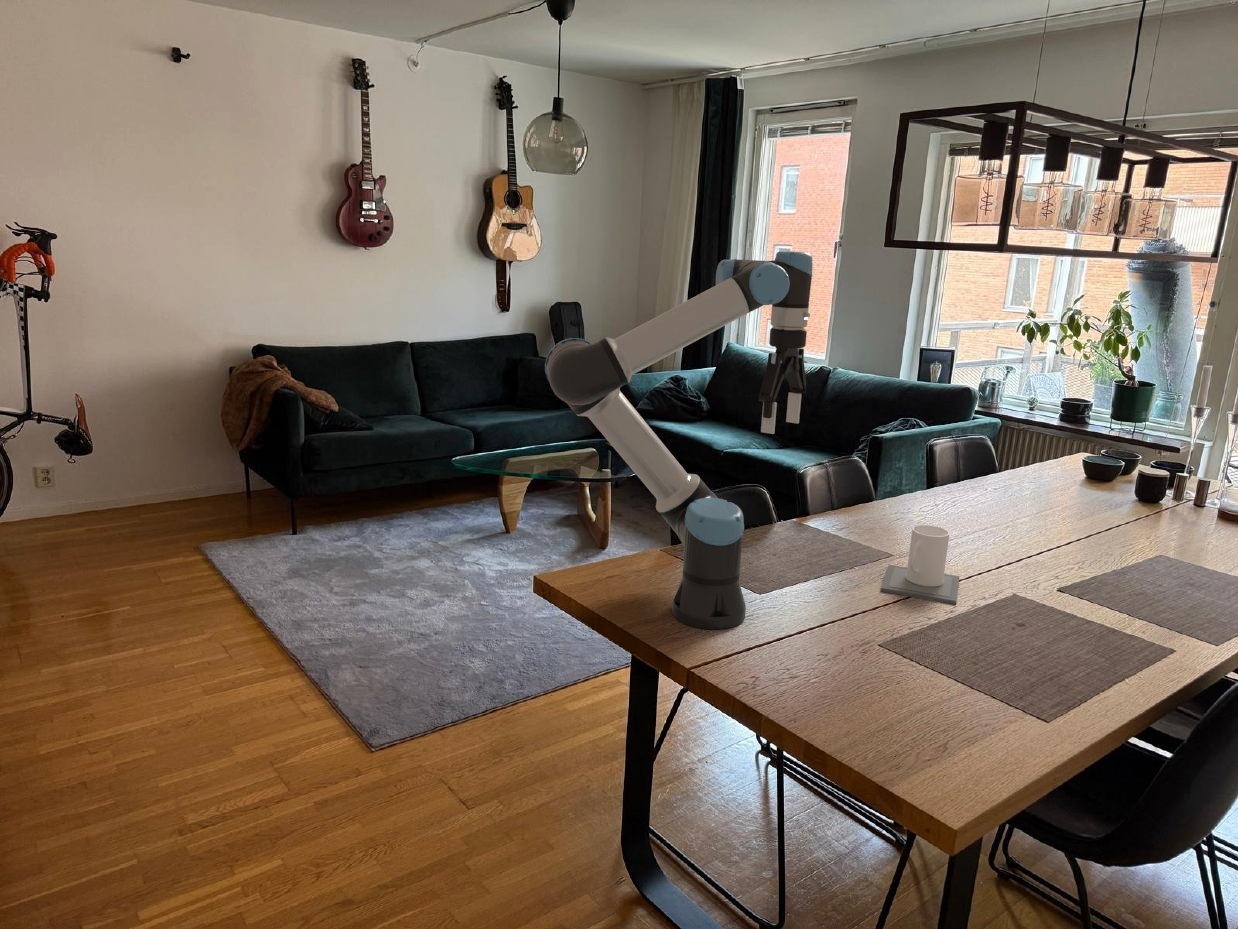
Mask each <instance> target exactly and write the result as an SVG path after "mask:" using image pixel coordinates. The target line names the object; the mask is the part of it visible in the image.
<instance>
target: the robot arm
mask: <svg viewBox="0 0 1238 929" xmlns="http://www.w3.org/2000/svg"><path fill="white" fill-rule="evenodd" d="M716 268H717V269H716V272H715V285H714V286H712V287H711V288H709V289H707V290H706V289H705V291H703V292H700V293H699V294H697V295H696V296H694V297H691V298H690V299H687V300H685V301H683V302H682V303H680V304H678V305H677V306H674V307H673V308H671V309H669V310H667V311H665V312H663V313H661V314H659V315H658V316H655V317H654V318H652V319H650V320H648V321H646V322H644V323H642V324H641V325H638V326H636V327H635V328H633V329H631V330H629V331H627V332H625V333H623V334H622V335H619V336H618V337H616V338H611V337H608V336H607V337H604V338H602V339H600V340H598V341H596V342H594V343H591V342H590V341H588V340H585V339H583V338H579V337H578V338H577V337H575V338H574V337H572V338H566V339H563V340H561V341H559V342H557V343H556V344H555V345H554V346H553V347H552V348H551V349H550V350H549V351H548V354H547V356H546V359H545V363H544V372H545V377H546V379H547V381H548V382H549V384H550V388H551V389H552V392H553V393H554V395H555V396H556V397H557V398H559V399H560V400H561V401H562V402H565V403H566V404H567V405H568V407H569V408H570V409H571V410H572V411H573V412H574V413H575V415H576V416H578V417H587V418H588V419H589V420H590V421H591V422H592V424H593V425H594V426H595V427H596V429H597V430H598V431H599V432H600V433H601V434H602V435H603V437H604V438H605V439H606V441H607V442H608V443H609V444H610V445H611V447H613V449H614V450H615V452H617V454H618V455H619V456H620V457H621V458H622V460H623V461H624V462H625V463H626V464H627V465H628V467H629V468H630V469H631V470H632V472H633V473H634V474H635V475H636V476H637V477H638V479H639V480H640V481H641V482H642V483H643V484H644V486H645V487H646V488H647V489H648V490H649V492H650V493H651V494H652V495H653V496H654V498H655V499H656V503H655V508H656V509H655V510H656V511H657V512H658V514H660V516H661V517H662V519H664V520H665V522H666V523H667V524H668V525H669V526H670V527H671V528H670V529H672V530H673V532H675V534H676V535H677V536H678V539H679V540H680V542H681V544H682V545H683V559H682V560H683V564H682V577H681V580H680V582H679V584H678V586H677V588H676V592H675V595H674V597H673V600H672V605H671V606H672V607H671V612H672V616H674V618H675V619H676V620H678V621H679V622H680V623H683V624H685V625H687V626H690V627H694V628H699V629H706V630H723V629H731V628H733V627H737V626H738V625H741V624H742V623H743V622H744V620H745V619H746V613H747V612H746V609H747V607H746V602H745V598H744V595H743V591H742V586H741V583H740V578H741V577H740V576H741V575H740V574H741V573H740V572H741V562H742V561H741V560H742V550H743V549H742V548H743V539H744V538H743V537H744V531H745V524H744V514H743V511H742V509H741V508H740V507H739V506H738V505H737V504H735V503H733V502H729V501H728V500H726V499H723V498H718V497H717V495H716V494H715V493H714V492H713V491H711V489H710V488H709V487H708V485H707V484H706V483H705V482H704V481H703V479H702V478H701V477H700V476H699V475H698V474H695V473H687V471H686V469H684V467H683V466H682V465H681V464H680V463H679V461H678V460H677V459H676V457H674V455H673V454H672V453H671V451H670V450H669V449H668V448H667V447H666V445H665V444H664V443H663V442H662V440H661V439H660V438H659V436H658V435H657V434H656V433H655V431H653V429H652V428H651V427H650V426H649V424H648V423H647V422H646V421H645V420H644V418H643V417H642V416H641V414H640V413H639V412H638V411H637V410H636V408H635V407H634V406H633V404H631V402H630V401H629V400H628V399H627V397H626V396H625V395H624V393H623V392H622V391H621V388H622V387H624V386H625V385H627V384H629V383H630V382H631V380H632V377H633V375H634V374H636V373H638V372H641V371H642V370H644V369H646V368H647V367H650V366H651V365H653V364H655V363H657V362H659V361H662V360H663V359H665V358H667V357H668V356H670V355H673V354H674V353H677V352H678V351H680V350H681V349H683V348H685V347H687V346H689V345H691V344H693V343H695V342H696V341H699V340H700V339H702V338H704V337H706V336H708V335H709V334H711V333H714V332H716V331H717V330H720V329H721V328H722V327H725V326H727V325H728V324H730V323H733V322H734V321H736V320H738V319H739V318H742V317H743V316H745V315H748V314H749V313H751V312H753V311H755V310H757V309H759V308H761V307H763V306H771V313H770V325H771V326H772V327H771V328H770V330H769V341H768V342H769V343H768V344H769V345H770V346H771V347H775V352H774V353H772V352H769V353H768V356H767V364H766V367H765V371H764V372H765V373H764V375H763V379H762V383H761V386H760V390H759V394H758V401H759V402H762V415H761V424H760V425H761V426H760V433H764V434H770V435H771V434H772V435H774V434H775V430H776V429H775V428H776V420H777V419H776V416H777V407H778V403H777V402H776V399H777V397H778V393H779V392H780V388H781V387H782V386H781V385H782V384H783V382H784V381H783V380H784V378H785V377H786V379H787V383H788V385H789V389H790V392H789V391H788V396H787V405H786V406H787V407H786V408H787V409H786V418H785V422H786V423H792V424H799V423H800V415H801V414H800V413H801V405H802V404H801V403H802V394H806V393H807V380H806V367H805V359H804V356H805V355H804V354H805V349H804V348H805V347H806V345H807V330H806V329H805V328H806V327H807V326H808V319H809V318H810V317H811V313H810V312H809V308H810V296H811V288H812V278H813V256H812V254H811V253H810V252H808V251H806V252H805V251H792V250H791V251H789V250H788V251H783V250H779V251H777V252H776V255H775V258H774V260H757V259H755V260H753V259H737V258H734V259H733V258H732V259H723V260H720V262H718V265H717V267H716Z"/></svg>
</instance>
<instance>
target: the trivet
mask: <svg viewBox="0 0 1238 929" xmlns="http://www.w3.org/2000/svg"><path fill="white" fill-rule="evenodd" d="M906 572H907V566H899V565H893V564H888V566H887V569H886V572H885V575H884V578H883V581H882V584H881V586H880V592H884V593H890V594H895V595H901V596H905V597H912V598H918V599H922V600H923V599H924V600H928V601H934V602H942V603H946V604H950V605H951V604H952V605H956V604H957V599H958V592H959V582H960V576H959V575H953V574H948V573H944V584H943V585H941V586H937V587H927V586H921V585H917V584H914V583H911V582H909V581H908V580H907V579H906V578H905V575H906Z"/></svg>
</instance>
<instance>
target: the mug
mask: <svg viewBox="0 0 1238 929" xmlns="http://www.w3.org/2000/svg"><path fill="white" fill-rule="evenodd" d="M949 540H950V531H948V530H947V529H946V528H942V527H940V526H935V525H928V524H920V525H919V524H918V525H914V526H913V527H912V528H911V536H910V544H909V551H908V560H907V566H906V568H907V572H906V575H905V578H906V579H907V580H908V581H909V582H911V583H914V584H917V585H921V586H927V587H937V586H941V585H943V584H944V574H945V567H946V561H947V555H948V554H947V553H948V547H949Z"/></svg>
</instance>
